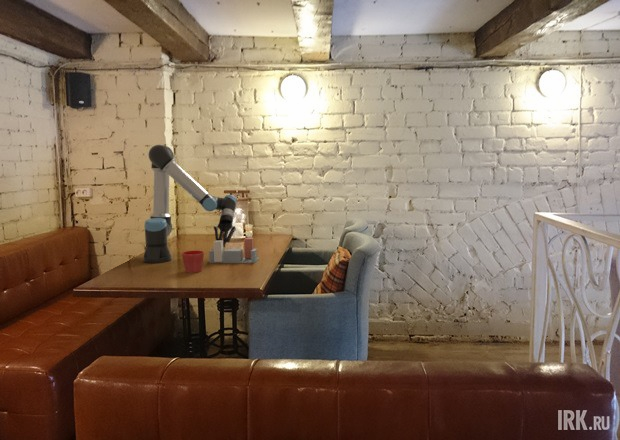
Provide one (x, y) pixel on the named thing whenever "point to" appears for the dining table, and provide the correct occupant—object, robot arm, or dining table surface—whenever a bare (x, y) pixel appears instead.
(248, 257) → the red plug
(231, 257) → the slot block
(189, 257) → the flower pot
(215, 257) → the cream plug
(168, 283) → the dining table surface
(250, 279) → the dining table surface
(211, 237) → the dining table surface
